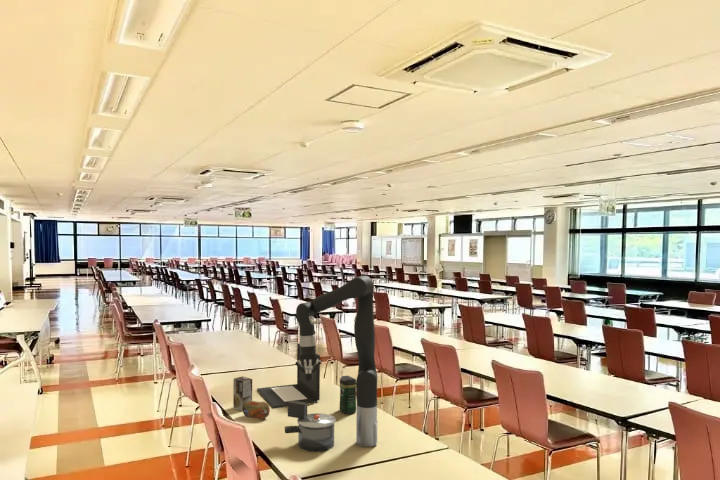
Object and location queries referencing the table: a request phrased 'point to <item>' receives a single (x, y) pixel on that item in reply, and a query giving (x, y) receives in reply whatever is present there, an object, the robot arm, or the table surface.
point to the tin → (256, 409)
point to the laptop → (294, 389)
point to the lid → (309, 416)
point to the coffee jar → (347, 394)
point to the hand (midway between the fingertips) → (309, 381)
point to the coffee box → (241, 391)
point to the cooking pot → (313, 437)
